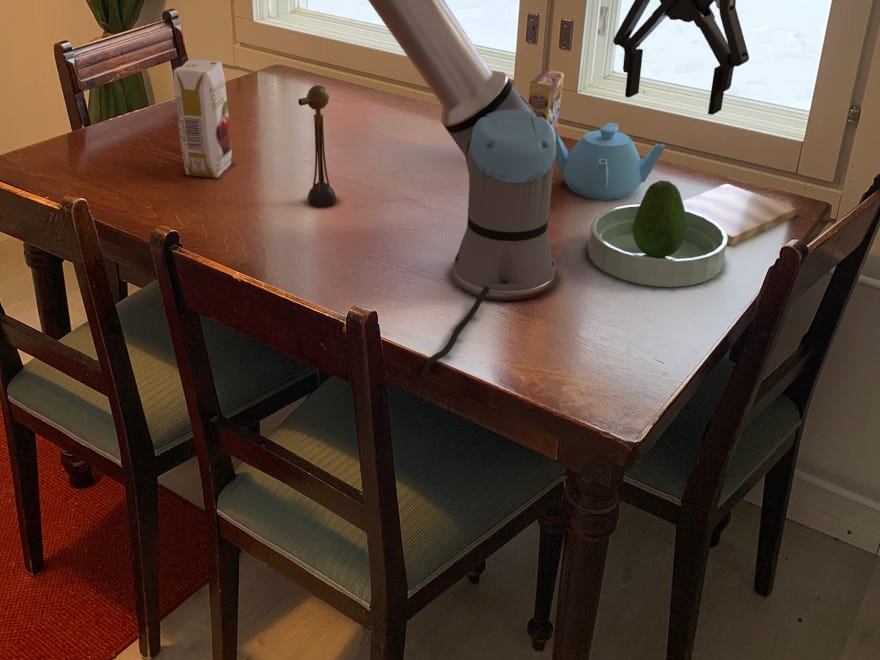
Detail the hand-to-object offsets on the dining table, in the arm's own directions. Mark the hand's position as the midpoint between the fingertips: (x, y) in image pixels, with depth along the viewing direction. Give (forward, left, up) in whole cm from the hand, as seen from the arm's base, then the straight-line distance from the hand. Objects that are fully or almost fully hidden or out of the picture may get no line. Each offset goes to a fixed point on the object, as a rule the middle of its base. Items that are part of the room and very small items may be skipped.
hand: (672, 103), depth 149 cm
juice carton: (-40, +70, -22) cm, 84 cm away
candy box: (+12, +36, -22) cm, 44 cm away
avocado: (-5, -5, -22) cm, 23 cm away
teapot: (+10, +19, -22) cm, 31 cm away
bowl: (-5, -5, -22) cm, 23 cm away
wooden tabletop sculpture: (-33, +45, -22) cm, 60 cm away
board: (+17, -3, -22) cm, 28 cm away
